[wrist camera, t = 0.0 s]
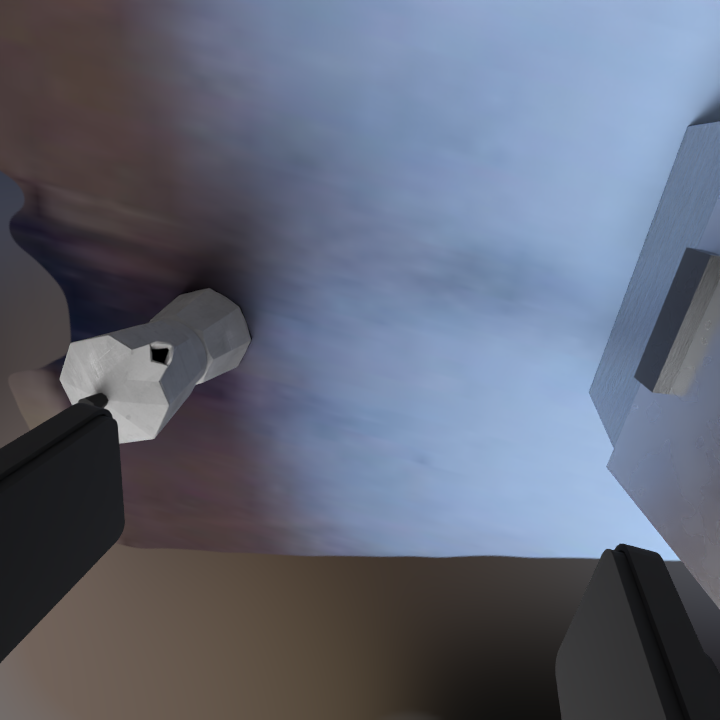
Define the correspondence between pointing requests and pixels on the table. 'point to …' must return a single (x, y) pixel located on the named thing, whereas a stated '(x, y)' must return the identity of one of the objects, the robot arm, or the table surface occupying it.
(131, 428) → the coffeepot
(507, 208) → the table surface
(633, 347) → the grey metal box
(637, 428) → the cooker lid
